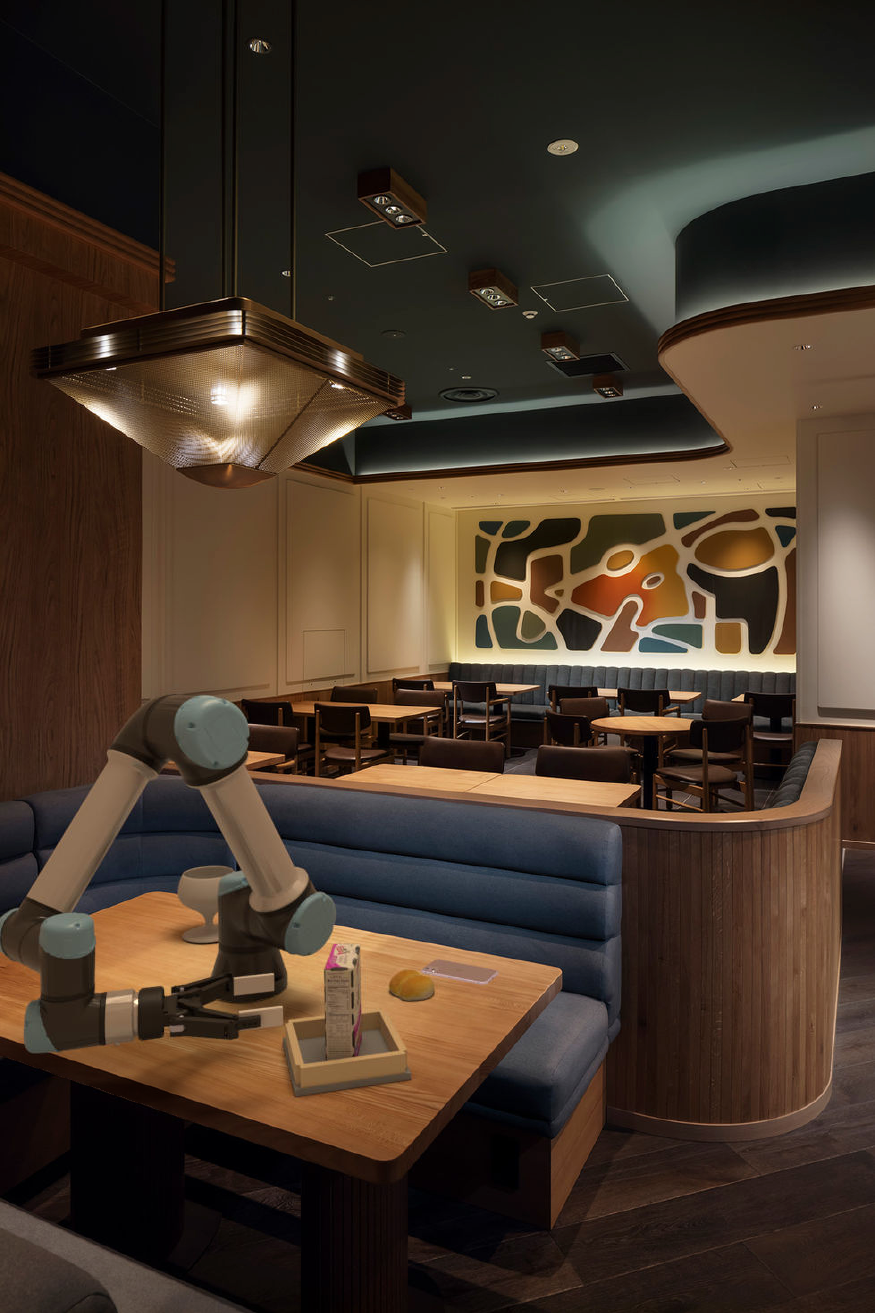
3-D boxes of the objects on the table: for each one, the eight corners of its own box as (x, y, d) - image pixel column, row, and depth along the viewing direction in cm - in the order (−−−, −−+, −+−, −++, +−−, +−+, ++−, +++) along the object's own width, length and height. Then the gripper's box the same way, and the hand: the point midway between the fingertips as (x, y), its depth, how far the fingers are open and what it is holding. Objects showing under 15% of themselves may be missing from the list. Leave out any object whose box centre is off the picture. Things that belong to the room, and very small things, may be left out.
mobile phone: (485, 982, 170) (419, 969, 176) (485, 987, 170) (419, 974, 176) (500, 969, 176) (435, 957, 183) (500, 974, 176) (435, 961, 183)
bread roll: (411, 1006, 160) (411, 985, 160) (382, 992, 167) (382, 971, 167) (444, 994, 166) (444, 974, 166) (414, 981, 172) (414, 961, 172)
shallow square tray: (282, 1043, 145) (282, 1019, 145) (385, 1029, 150) (385, 1007, 150) (295, 1096, 128) (295, 1070, 128) (411, 1079, 133) (411, 1053, 133)
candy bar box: (333, 1038, 144) (332, 942, 144) (362, 1038, 144) (361, 942, 144) (323, 1071, 133) (322, 967, 133) (355, 1071, 133) (354, 967, 133)
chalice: (251, 934, 200) (251, 871, 200) (200, 950, 190) (199, 883, 190) (217, 922, 209) (216, 861, 209) (166, 936, 199) (165, 872, 199)
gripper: (141, 1006, 142) (270, 991, 148) (132, 1078, 118) (287, 1057, 124) (141, 961, 142) (270, 948, 148) (132, 1024, 118) (286, 1006, 124)
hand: (278, 997), depth 136 cm, fingers open, 13 cm apart
